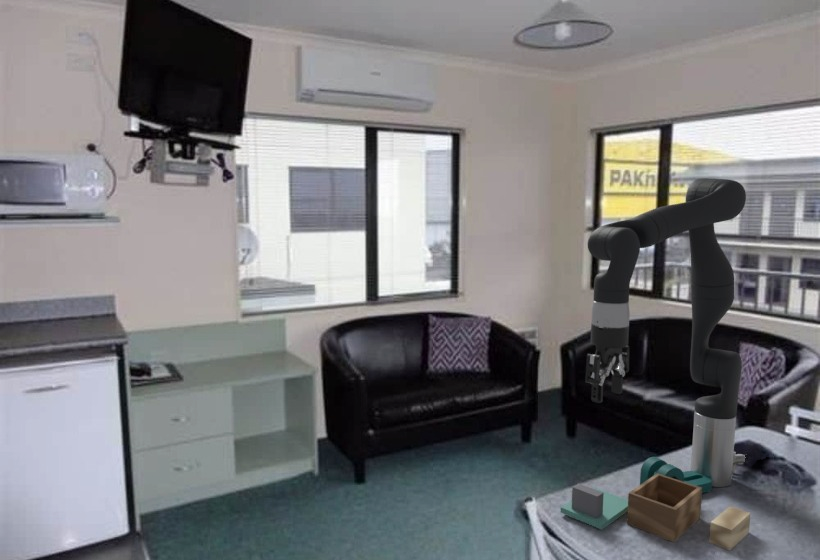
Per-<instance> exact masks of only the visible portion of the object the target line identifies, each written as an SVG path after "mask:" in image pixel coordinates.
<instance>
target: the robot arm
mask: <svg viewBox="0 0 820 560" xmlns="http://www.w3.org/2000/svg"><path fill="white" fill-rule="evenodd" d="M746 194H747V193H746V189H745V188H744V186H743V184H742V183H740V182H738V181H736V180H733V179H727V178H725V179H724V178H707V177H701V178H696V179H694V180H693V181H692V182H690V185H688V188H687V191H686V196H685V201H684V202H680V203H674V204H669V205H664V206H663V205H662V206H660V207H656V208H652V209H651V210H648V211H646V212H643V213H641V214H639V215H637V216H635V217H631V218H629V219H624V220H620V221H615V222H611V223H608V224H605V225H602V226H599V227H598V228H596V229H594V230H593V232H591V234H590V236H589V237H588V240H587V249H588V250H587V251H589V253H590V255H591V256H592V257H593V258H595V259H597V260H599V261H608V262H609V266H608V268H607V271H605V272H604V271H603V272H599V273H598V274H596V275H595V277H594V281H593V301H592V308H591V318H590V319H591V322H590V323H591V324H590V325H591V326H590V343H591V344H592V345H593V346H595V353H594V354H593V353H592V354H591V353H587V354H586V361H585V362H586V363H585V364H586V365H585V378H584V380H585V381H584V382H585V383H586V384H587V383H588V384H590V385H591V393H590V394H591V396H590V400H591V402H592V403H593V402H594V403H597V404H601V403H602V402H603V399H604V398H603V397H604V383H605V380H606V378H607V377H609V376H610V373H611V374H612V375H611V387H610V388H611V389H610V392H611V393H612V394H617V395H620V394H622V393H623V384H624V377H625V376H626V373H629V371H630V346H629V336H630V335H629V334H630V333H629V331H630V300H629V299H630V282H631V280H632V277H633V275H634V272H635V268H636V265H637V262H638V259H639V255H640V250H641V249H645V248H649V247H653V246H654V245H656V244H659V243H661V242H663V241H665V240H667V239H670V238H672V237H675V236H677V235H680V234H682V233H684V232H685V233H686V232H688V238H689V239H688V240H689V251H690V252H689V253H690V297H691V299H690V301H691V325H692V326H691V327H692V328H691V342H690V343H691V344H690V345H691V347H690V361H689V371H690V377H691V380H692V381H693V382H694V383H697V384H700V385H705V386H710V387H715V388H721V391H720V393H718V394H714V395H713V394H712V395H707V396H701V397H698V398H697V399H696V400H695V403H694V414H693V432H692V444H691V445H692V446H691V463H690V471H695V472H697V473H699V474H701V475H704V476H707V477H711V478H712V488H713V487H715V488H725V487H729V486H730V485H732V478H733V474H732V468H733V454H734V452H735V450H734V449H735V439H736V420H737V410H738V403H739V402H738V401H739V393H740V392H739V390H740V383H741V376H742V367H743V366H742V365H743V364H742V357H741V355H740V354H739V353H738V352H736V351H732V350H724V349H718V348H711V347H709V340H710V335H711V334H712V332H713V331H714V329H715V327H716V326H717V325H718V323H719V322H720V321H721V320H722V319H723V318H724V317H725V315H727V313H728V311H729V310H730V308H731V307H732V305H733V303H734V301H735V272H734V270H733V267H732V264H731V263H730V261H729V259H728V257H727V256H726V254H725V252H724V250H723V249H722V248H721V246H720V244H719V241H718V239H717V237H716V236H717V235H716V231H715V224H716V223H721V222H726V221H731V220H732V219H734V218H736V217H738V216H739V215H740V214H741V213H742V212H743V209H744V207H745V205H746V201H747V195H746Z"/></svg>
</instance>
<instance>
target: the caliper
mask: <svg viewBox="0 0 820 560" xmlns="http://www.w3.org/2000/svg"><path fill="white" fill-rule="evenodd" d="M736 453H737V452H736V451H734V454H733V468H732V475H733V474H735V471H736V469H737V466H743V465H744V463H746V462H745V458H746V457H745V455H746V454H742V453H737V454H736Z"/></svg>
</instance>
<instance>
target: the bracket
mask: <svg viewBox="0 0 820 560" xmlns="http://www.w3.org/2000/svg"><path fill="white" fill-rule="evenodd" d="M639 473H640V475H639V485H641V484H642V483H644V482H645V481H647V480H648V479H649V478H651V477H652V476H654V475H655V474H657V473H658V474H661V475H664V476H667V477H671V478H674V479H677V480H680V481H683V482H686V483H689V484H692V485H695V486H698V487H701V488H702V494H704V493H708V492H711V491H712V490H713V489H712V488H713V486H712V478H711V477H707V476H704V475H701V474H699V473H697V472H695V471H691V470H685V471H683V470H682V469H681V468H678V467H677V466H675V465H672V464H670V463H667V462H666V461H665V460H663V459H661V458H659V457H657V456H651V457H648V458H647V459H645V461H644V462H643V463H642V465H641V468H640V472H639Z"/></svg>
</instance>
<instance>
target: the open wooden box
mask: <svg viewBox="0 0 820 560" xmlns="http://www.w3.org/2000/svg"><path fill="white" fill-rule="evenodd" d="M702 494H703V493H702V488H701V487H698V486H695V485H692V484H689V483H686V482H683V481H680V480H677V479H674V478H671V477H667V476H664V475H661V474H658V473H657V474H655V475H654V476H652V477H651V478H649V479H648V480H647V481H645V482H644V483H642V484H641V485H640V484H639V485H638V486H636V487H635V488H634V489H632V490H631V491H630V492H628V495H627V496H628V498H627V500H628V511H627V516H626V517H627V519H626V520H627V521H626V524H627V525H628V526H629V525H630V526H631V525H632V527H634V528H636V529H639V530H641V531H644V532H647V533H650V534H652V535H654V536H657V537H659V538H662V539H664V540H666V541H670V542H671V543H675V542H676V541H677V540H679V539H680V538H681V536H682V535H683V534H685V533H686V532H687V531H688V530H689V529H690V528H691V527H693V525H694V524H695V523H697V521H699V520H700V519H701V511H702V498H703V495H702Z"/></svg>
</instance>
